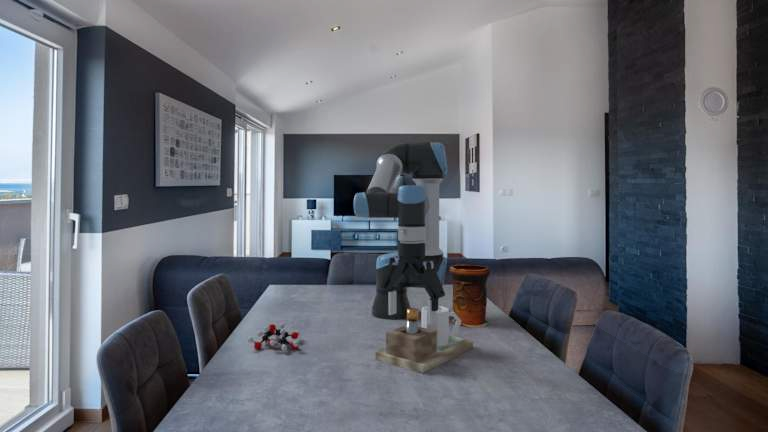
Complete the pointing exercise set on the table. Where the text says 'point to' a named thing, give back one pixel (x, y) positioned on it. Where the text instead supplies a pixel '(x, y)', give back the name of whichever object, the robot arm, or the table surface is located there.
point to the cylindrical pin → (412, 321)
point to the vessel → (470, 294)
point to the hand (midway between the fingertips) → (411, 318)
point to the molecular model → (273, 342)
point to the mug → (440, 323)
